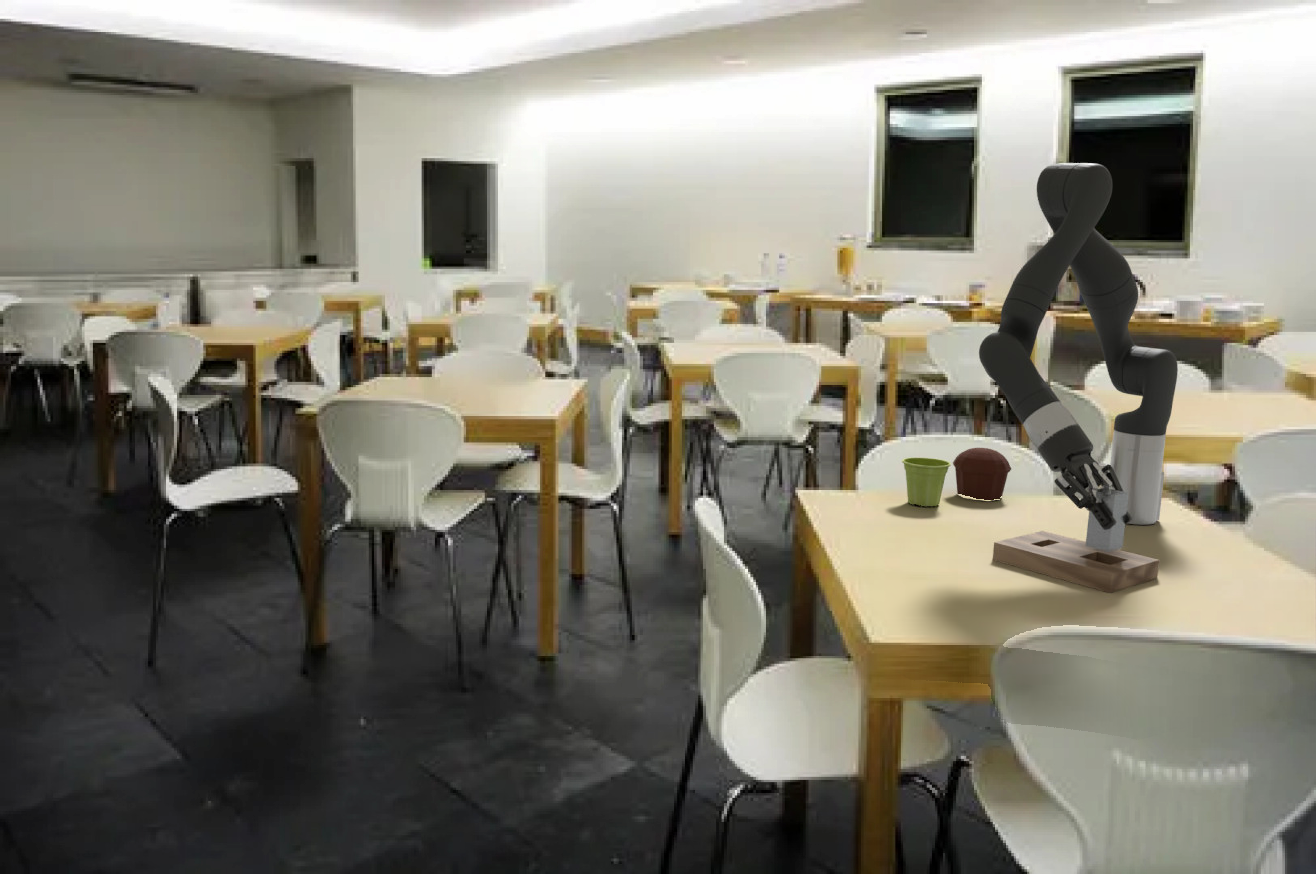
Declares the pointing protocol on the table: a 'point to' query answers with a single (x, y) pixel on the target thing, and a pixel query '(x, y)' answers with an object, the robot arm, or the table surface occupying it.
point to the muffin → (981, 473)
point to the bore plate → (1076, 561)
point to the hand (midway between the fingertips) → (1118, 524)
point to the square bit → (1115, 534)
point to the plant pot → (925, 480)
